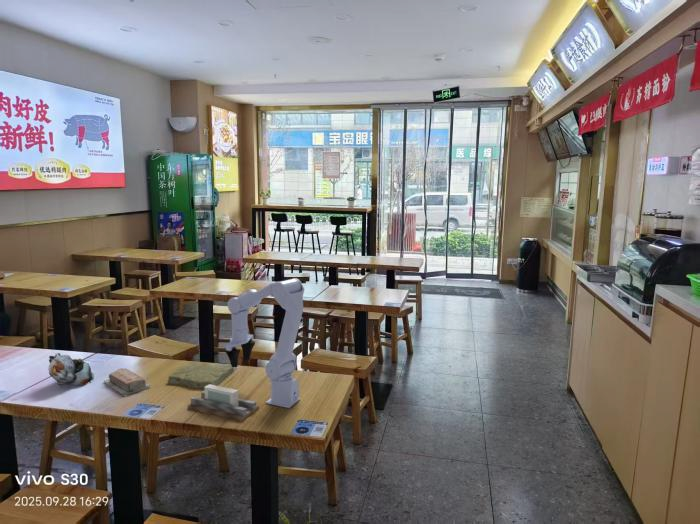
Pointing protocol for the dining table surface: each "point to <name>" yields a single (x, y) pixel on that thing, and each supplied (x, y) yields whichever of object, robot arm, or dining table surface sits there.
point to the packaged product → (126, 382)
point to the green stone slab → (200, 374)
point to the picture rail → (224, 407)
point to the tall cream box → (221, 394)
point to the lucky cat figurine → (69, 370)
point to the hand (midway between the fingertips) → (240, 363)
